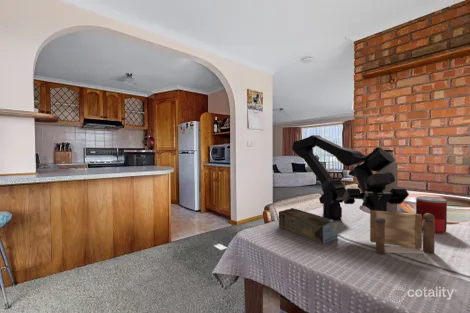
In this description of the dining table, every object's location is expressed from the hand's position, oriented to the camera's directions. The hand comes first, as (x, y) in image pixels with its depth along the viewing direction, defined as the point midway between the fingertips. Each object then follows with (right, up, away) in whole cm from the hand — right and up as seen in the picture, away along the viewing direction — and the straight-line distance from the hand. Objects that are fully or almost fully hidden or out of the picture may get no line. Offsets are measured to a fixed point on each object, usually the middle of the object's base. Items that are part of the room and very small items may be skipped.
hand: (385, 219), depth 68 cm
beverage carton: (-22, -7, +8) cm, 24 cm away
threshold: (0, -7, -7) cm, 9 cm away
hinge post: (+7, -7, -7) cm, 12 cm away
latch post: (-6, -7, -7) cm, 12 cm away
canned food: (+22, -6, +9) cm, 25 cm away
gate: (0, -6, -4) cm, 7 cm away
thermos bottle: (+19, -6, +28) cm, 34 cm away
